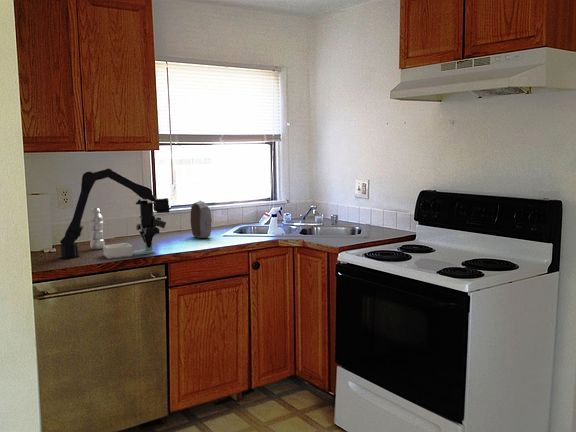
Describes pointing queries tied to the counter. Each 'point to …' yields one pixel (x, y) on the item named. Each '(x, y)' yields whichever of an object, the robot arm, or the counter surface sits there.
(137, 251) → the lid
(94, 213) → the plastic bottle
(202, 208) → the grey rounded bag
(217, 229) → the counter surface
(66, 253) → the robot arm
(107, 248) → the tub
